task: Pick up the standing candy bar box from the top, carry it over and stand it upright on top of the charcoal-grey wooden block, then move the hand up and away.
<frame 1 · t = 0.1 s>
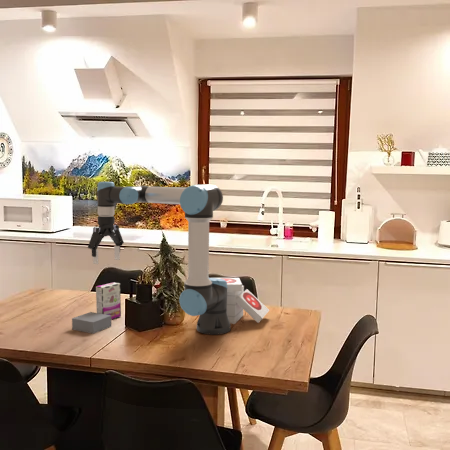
hand: (106, 261, 244), 28 cm above the table, tool pointing down, fingers open, 13 cm apart
grey block: (92, 327, 236), on the table
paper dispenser: (235, 319, 254), on the table
candy bar box: (108, 319, 251), on the table
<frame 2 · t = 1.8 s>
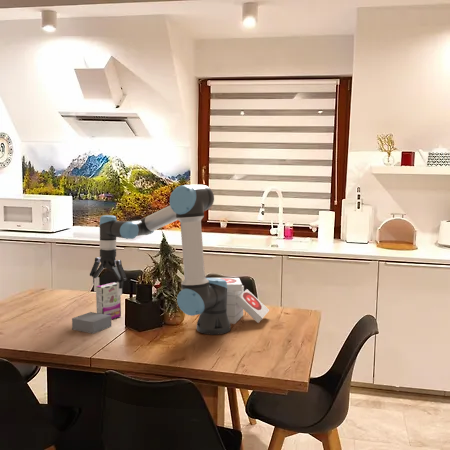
hand: (107, 293, 250), 12 cm above the table, tool pointing down, fingers open, 13 cm apart
nothing on the table moved.
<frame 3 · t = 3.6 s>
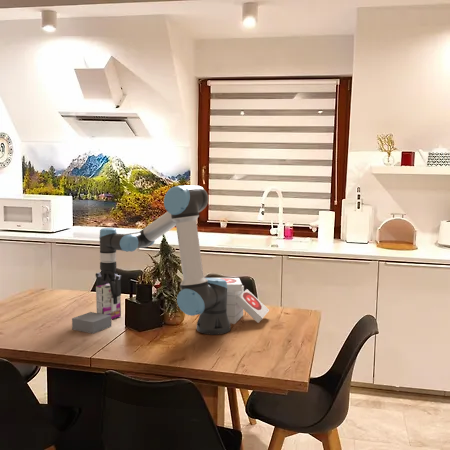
hand: (108, 309, 250), 4 cm above the table, tool pointing down, fingers closed on candy bar box, 5 cm apart
candy bar box: (108, 319, 251), on the table, touching gripper
everything else where it was.
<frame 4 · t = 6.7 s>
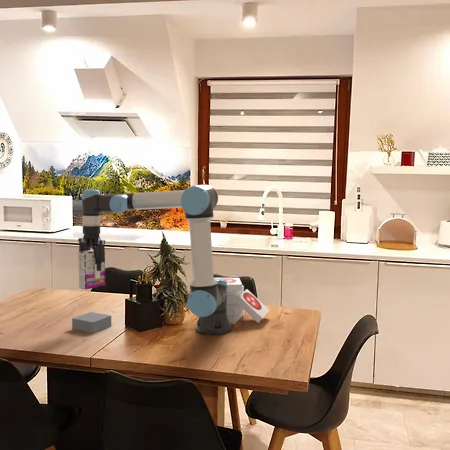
hand: (92, 277, 235), 23 cm above the table, tool pointing down, fingers closed on candy bar box, 5 cm apart
candy bar box: (92, 287, 235), point 18 cm above the table, touching gripper
everything else where it was.
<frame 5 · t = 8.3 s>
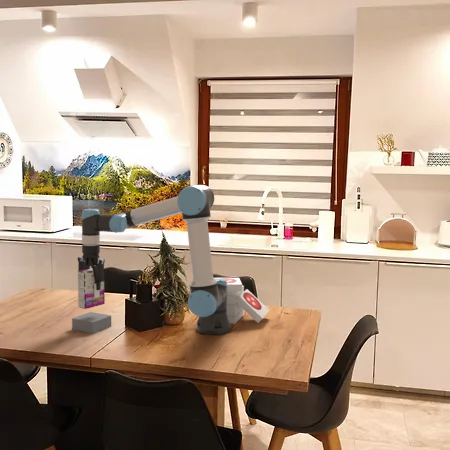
hand: (91, 296, 235), 14 cm above the table, tool pointing down, fingers closed on candy bar box, 5 cm apart
candy bar box: (91, 306, 235), point 10 cm above the table, touching gripper
everything else where it was.
when the fingers open (11 cm above the table, at t = 9.7 s): candy bar box drops 1 cm, resting on grey block.
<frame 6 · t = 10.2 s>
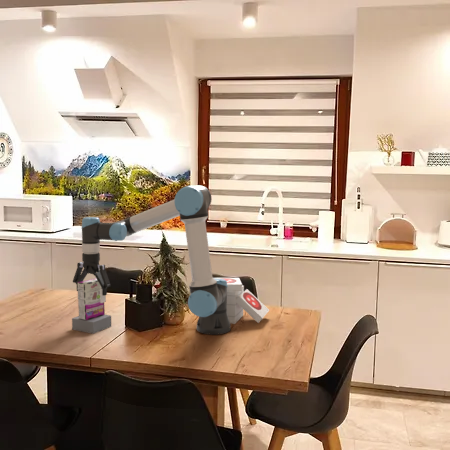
hand: (91, 300, 235), 12 cm above the table, tool pointing down, fingers open, 12 cm apart
candy bar box: (91, 317, 236), point 5 cm above the table, touching grey block
everything else where it was.
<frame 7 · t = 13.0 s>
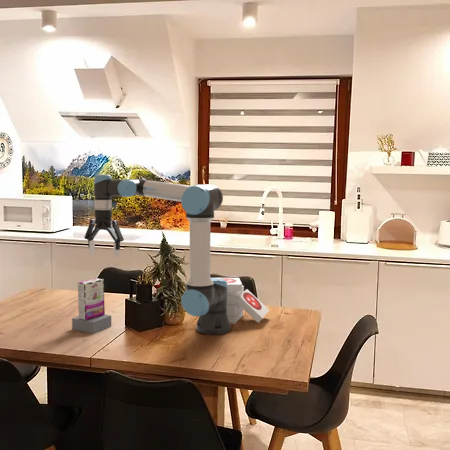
hand: (104, 255, 241), 31 cm above the table, tool pointing down, fingers open, 13 cm apart
nothing on the table moved.
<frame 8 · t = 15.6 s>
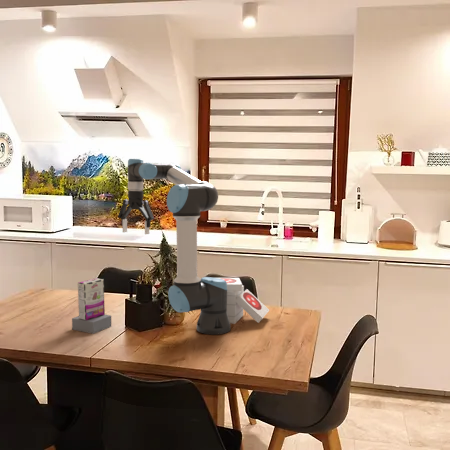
hand: (135, 233, 264), 39 cm above the table, tool pointing down, fingers open, 13 cm apart
nothing on the table moved.
at the end: candy bar box inside the target area on the grey block (0.1 cm from its centre), point 4.8 cm above the grey block's base; candy bar box tilted 0°; the gripper is holding nothing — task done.
